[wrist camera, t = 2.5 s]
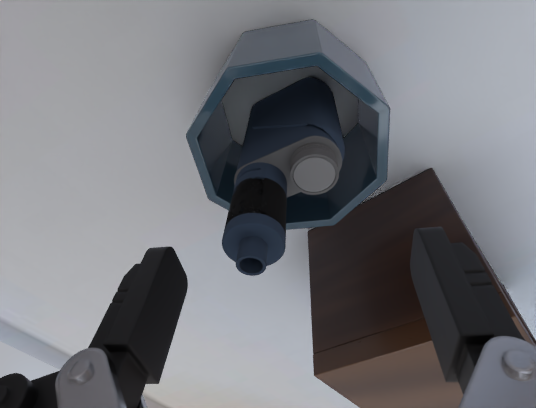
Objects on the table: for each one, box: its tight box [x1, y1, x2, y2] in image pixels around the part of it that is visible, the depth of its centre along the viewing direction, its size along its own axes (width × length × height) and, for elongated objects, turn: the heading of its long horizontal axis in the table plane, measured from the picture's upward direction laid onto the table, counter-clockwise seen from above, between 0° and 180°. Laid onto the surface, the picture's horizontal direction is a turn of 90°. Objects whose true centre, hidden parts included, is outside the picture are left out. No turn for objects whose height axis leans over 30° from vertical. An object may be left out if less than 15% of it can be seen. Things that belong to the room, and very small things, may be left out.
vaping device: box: [222, 77, 345, 275], centre depth 16 cm, size 3×5×12 cm, turn 119°
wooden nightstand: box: [308, 168, 536, 408], centre depth 24 cm, size 16×10×11 cm, turn 39°
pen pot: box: [186, 19, 390, 230], centre depth 18 cm, size 9×9×6 cm
